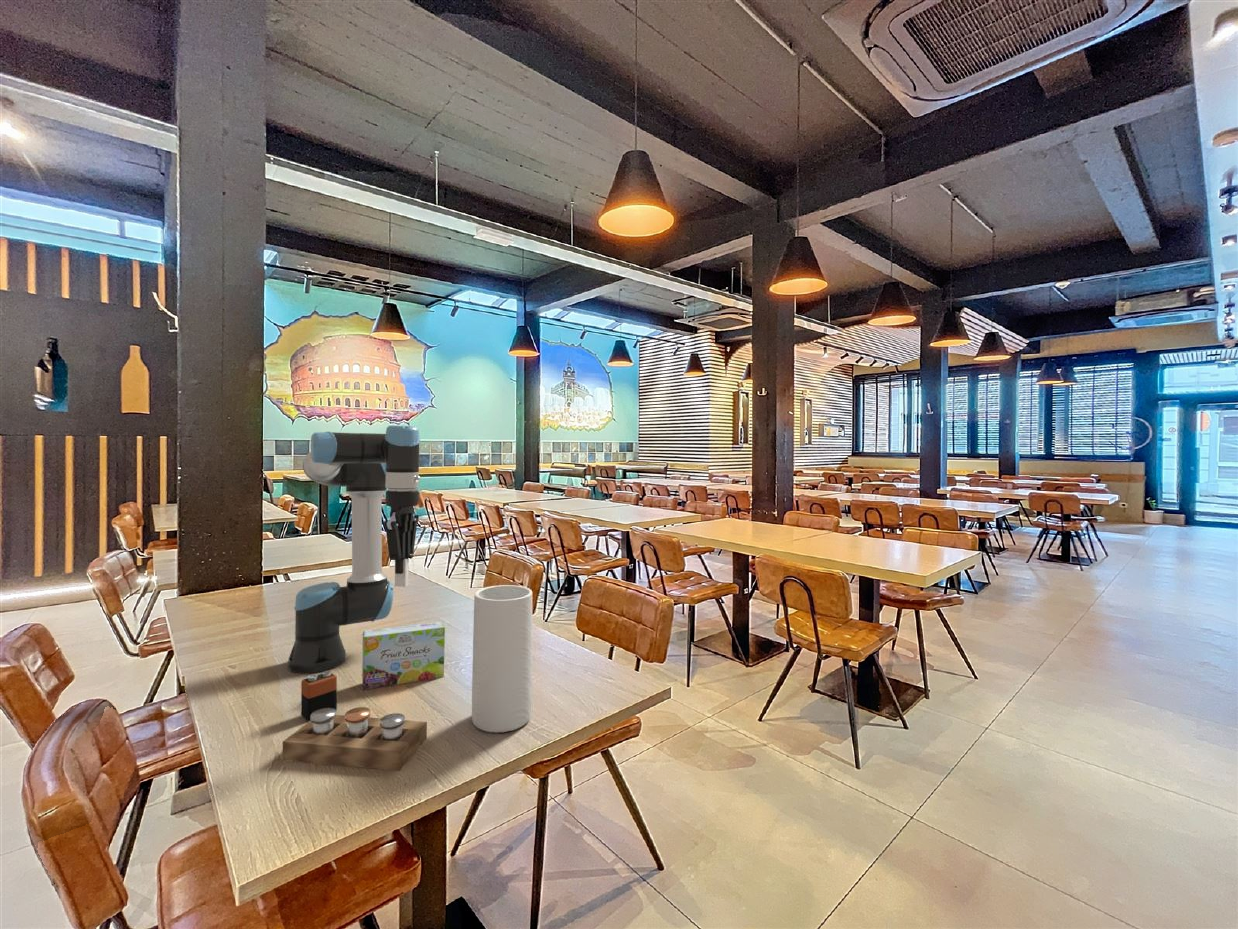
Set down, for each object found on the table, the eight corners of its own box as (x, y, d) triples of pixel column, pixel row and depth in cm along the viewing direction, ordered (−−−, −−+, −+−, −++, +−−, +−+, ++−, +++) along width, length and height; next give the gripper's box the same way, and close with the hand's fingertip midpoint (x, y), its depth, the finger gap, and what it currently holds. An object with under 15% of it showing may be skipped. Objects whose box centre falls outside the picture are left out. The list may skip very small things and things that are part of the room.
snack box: (363, 691, 146) (363, 636, 146) (362, 683, 151) (362, 630, 151) (444, 677, 156) (445, 626, 155) (441, 670, 161) (441, 620, 160)
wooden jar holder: (282, 760, 114) (282, 741, 114) (319, 730, 126) (319, 713, 126) (400, 770, 112) (400, 751, 112) (426, 739, 124) (426, 722, 124)
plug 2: (375, 753, 116) (375, 724, 116) (387, 741, 121) (387, 712, 121) (397, 755, 116) (397, 725, 115) (408, 743, 120) (409, 714, 120)
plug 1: (305, 747, 118) (305, 718, 117) (320, 735, 123) (320, 707, 122) (326, 749, 117) (326, 720, 117) (340, 737, 122) (341, 708, 122)
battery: (300, 716, 133) (300, 676, 132) (329, 706, 138) (329, 667, 137) (308, 722, 130) (308, 681, 129) (337, 711, 135) (337, 672, 135)
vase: (476, 740, 124) (478, 603, 123) (467, 711, 137) (469, 587, 136) (537, 728, 130) (540, 597, 128) (523, 701, 143) (525, 582, 141)
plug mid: (339, 747, 117) (339, 717, 117) (353, 734, 122) (353, 706, 122) (361, 749, 116) (361, 719, 116) (374, 736, 121) (374, 708, 121)
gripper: (403, 492, 125) (402, 594, 126) (429, 487, 138) (428, 580, 139) (372, 491, 125) (372, 592, 126) (401, 486, 138) (400, 578, 139)
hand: (401, 585), depth 133 cm, fingers closed
